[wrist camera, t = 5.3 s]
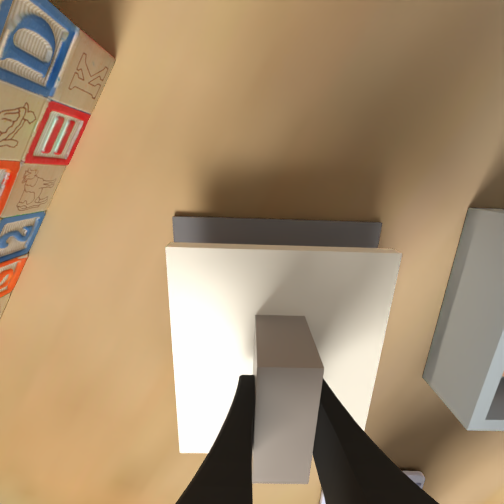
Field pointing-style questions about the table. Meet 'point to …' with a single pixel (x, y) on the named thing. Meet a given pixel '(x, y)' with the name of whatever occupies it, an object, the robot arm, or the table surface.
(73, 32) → the stack of blocks
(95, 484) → the table surface
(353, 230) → the mat
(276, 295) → the lid
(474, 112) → the table surface
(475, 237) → the box
